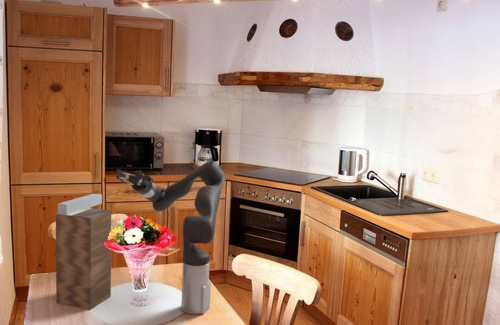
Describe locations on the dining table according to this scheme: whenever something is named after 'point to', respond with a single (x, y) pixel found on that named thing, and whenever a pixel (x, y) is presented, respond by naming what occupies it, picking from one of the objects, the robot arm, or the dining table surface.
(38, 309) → the dining table surface
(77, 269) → the wooden block
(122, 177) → the robot arm
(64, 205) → the lever
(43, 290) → the dining table surface
